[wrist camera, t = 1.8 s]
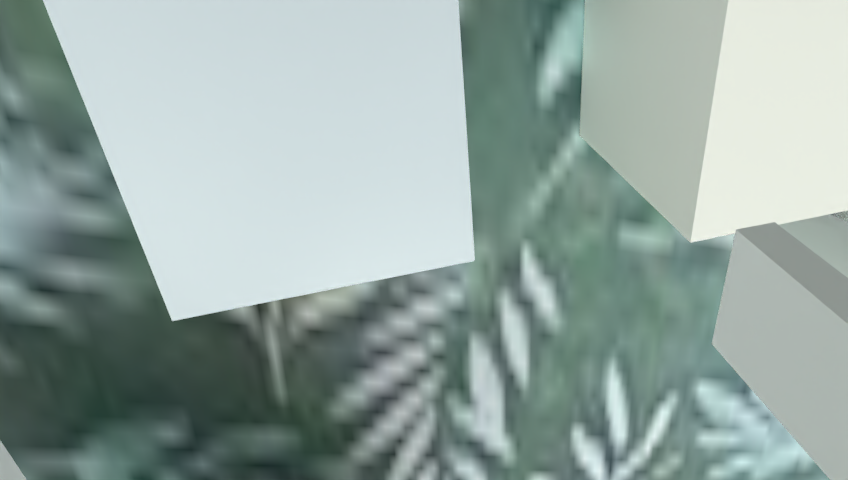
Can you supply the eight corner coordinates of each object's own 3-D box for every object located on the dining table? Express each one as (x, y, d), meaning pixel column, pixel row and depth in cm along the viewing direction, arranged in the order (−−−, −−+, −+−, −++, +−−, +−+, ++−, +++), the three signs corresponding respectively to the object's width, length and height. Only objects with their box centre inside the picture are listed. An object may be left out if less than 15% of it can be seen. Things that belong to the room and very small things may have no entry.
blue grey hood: (199, 181, 29) (172, 321, 21) (121, -62, 23) (41, -5, 15) (417, 143, 30) (475, 260, 22) (391, -97, 25) (454, -62, 16)
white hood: (579, 135, 32) (690, 242, 23) (588, -93, 26) (737, -58, 18) (765, 102, 33) (935, 192, 24) (812, -123, 27) (1048, -104, 19)
